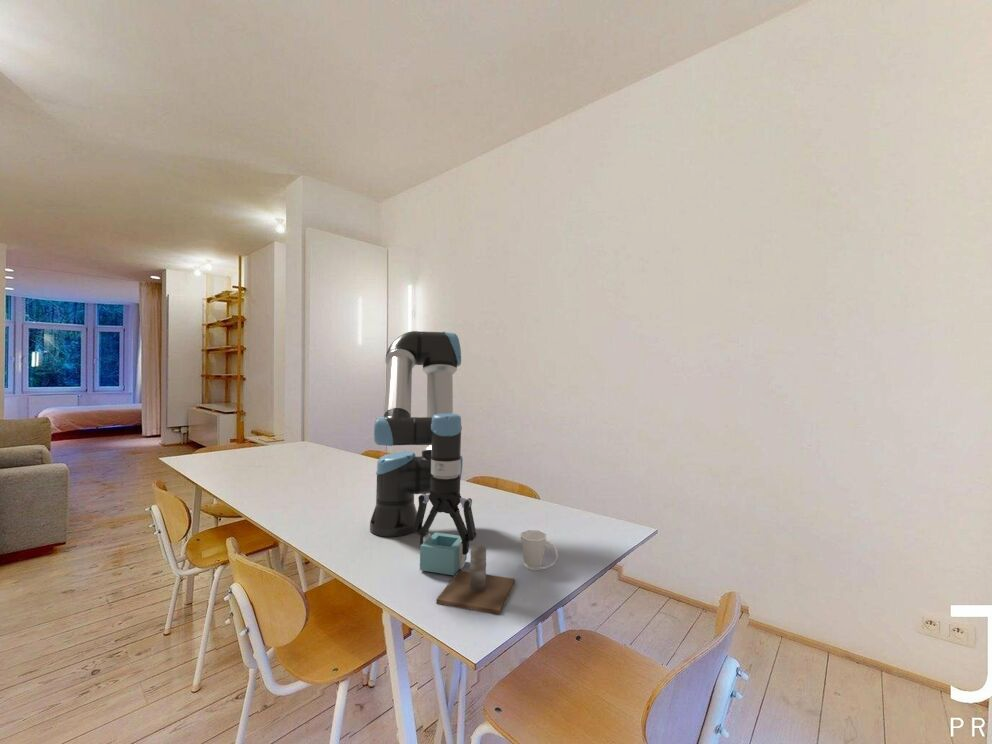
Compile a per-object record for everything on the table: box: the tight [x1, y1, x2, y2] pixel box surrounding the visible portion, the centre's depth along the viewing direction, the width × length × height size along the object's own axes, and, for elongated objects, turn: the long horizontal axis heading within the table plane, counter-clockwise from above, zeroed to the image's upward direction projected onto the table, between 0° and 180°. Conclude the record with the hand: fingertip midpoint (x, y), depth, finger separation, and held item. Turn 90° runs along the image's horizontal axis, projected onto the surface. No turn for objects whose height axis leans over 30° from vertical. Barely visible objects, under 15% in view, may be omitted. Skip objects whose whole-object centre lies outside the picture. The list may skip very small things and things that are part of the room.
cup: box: [520, 530, 559, 571], centre depth 108 cm, size 7×10×8 cm
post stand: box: [435, 544, 516, 615], centre depth 95 cm, size 14×14×10 cm
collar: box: [419, 531, 468, 576], centre depth 108 cm, size 9×9×6 cm
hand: (443, 563), depth 108 cm, fingers closed on collar, 9 cm apart
